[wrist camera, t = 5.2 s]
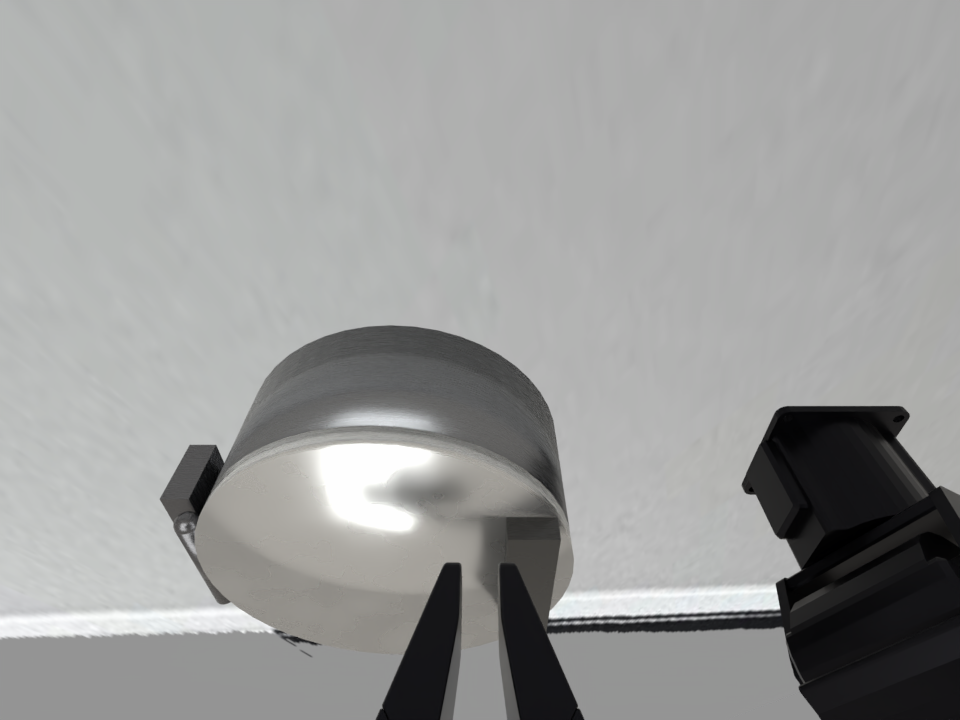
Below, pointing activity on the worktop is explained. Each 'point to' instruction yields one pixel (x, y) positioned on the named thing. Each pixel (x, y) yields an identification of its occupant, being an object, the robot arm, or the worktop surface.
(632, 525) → the worktop surface
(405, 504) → the lid
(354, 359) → the pot
